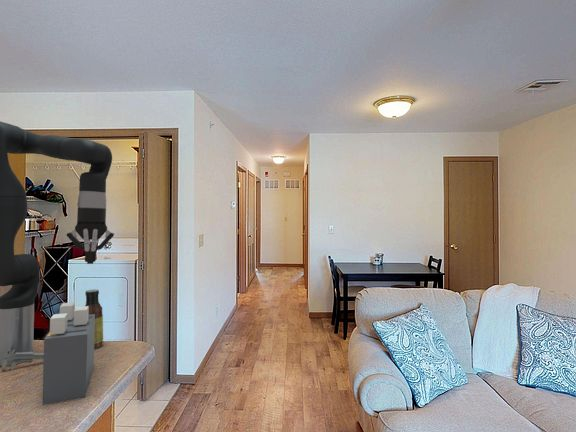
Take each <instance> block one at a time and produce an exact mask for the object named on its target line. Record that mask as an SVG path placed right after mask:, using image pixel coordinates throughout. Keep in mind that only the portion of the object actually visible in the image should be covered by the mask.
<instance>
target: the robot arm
mask: <svg viewBox="0 0 576 432" xmlns="http://www.w3.org/2000/svg"><path fill="white" fill-rule="evenodd" d="M8 154H12V155H18V154H19V155H26V154H27V155H29V154H31V155H32V154H35V155H43V156H46V157H49V158H55V159H59V160H63V161H72V162H73V161H74V162H78V163H81V164H82V163H83V164H87V165H90V167H89V170H88V171H85V172H82V173H80V176H79V184H78V189H79V190H78V191H79V192H78V196H77V204H76V206H77V211H76V212H77V215H76V225H75V226H74V230H72V231H70V232H67V233H66V237H67V238H68V239H69V240H70V241H71V242H72V243H73V245H74V246H75V247H76V248H77V249H78V250H81V251H84V262H85V263H86V264H87V265H93V264H94V263H95V262H96V260H97V251H100V250H102V249H103V248H105V246H106V245H107V244H108V243H109V242H110V241H111V239H112V238H113V237H114V235H115V233H113V232H112V231H110V230H109V229H108V226H107V223H106V222H107V220H106V219H107V218H106V217H107V194H106V193H107V179H108V176H109V173H110V170H111V166H112V162H113V154H112V150H111V149H110V147H108V145H105V144H103V143H100V142H97V141H94V140H90V139H86V138H71V137H67V136H60V135H53V134H49V135H48V134H47V135H46V134H45V135H41V134H37V133H34V132H31V131H29V130H26V129H24V128H21V127H19V126H18V125H13V124H10V123H7V122H5V121H4V122H3V121H1V120H0V287H8V286H11V288H9V290H8V291H7V292H5V293H3V294H2V295H1V296H0V367H2V361H3V358H4V355H5V353H8V351H9V349H10V352H12V351H13V350H14V349H15V350H14V353H13V354H15V353H23V352H34V327H35V326H34V325H35V324H34V323H35V299H36V297H37V296H38V295H37V294H38V290H39V279H40V264H39V260H38V259H37V257H35V255H33V254H31V253H21V254H15V241H16V237H17V234H18V232H19V231H20V229H21V227H22V226H23V224H24V222H25V220H26V218H27V216H28V198H27V192H26V190H25V187H24V186H23V185H22V183H21V181H20V179H18V177H17V176H16V174H15V172H14V171H13V169H12V167H11V165H10V161H9V156H8ZM78 236H79V237H80V238H81V239H82V240H83V244H84V245H83V244H82V242H81V241H80V240H79V239H78V238H77V237H78ZM103 236H104V237H105V238H104V240H103V241H101V243H100V244H99V245H98V243H99V240H100V239H101V238H102V237H103ZM10 354H11V353H10ZM12 361H13V360H8V362H7V365H6V367H8V366H11V364H12ZM21 363H23V362H21V361H18V362H17V364H16V365H18V364H21Z"/></svg>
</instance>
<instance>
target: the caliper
mask: <svg viewBox="0 0 576 432" xmlns="http://www.w3.org/2000/svg"><path fill="white" fill-rule="evenodd" d="M14 350H15V349H14ZM14 350H13V351H12V352H10V349H9V351H8V353H5V355H4V358H3V361H2V366H1V371H2V372H5V370H6V367H7V366H6V365H7V362H8V360H13V361H12V364H11V365H10V368H9V371H13V370H14V369H15V367H16V365H18V364H17V362H18V361H21V362H22V363H32V361H33V360H44V352H43V353H40V352H39V353H35V352H34V351H33V352H23V353H15V354H13V353H14ZM10 353H11V354H10Z"/></svg>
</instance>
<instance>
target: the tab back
mask: <svg viewBox="0 0 576 432" xmlns="http://www.w3.org/2000/svg"><path fill="white" fill-rule="evenodd" d="M75 308H76V302H75V301H74V302H62V303H61V304H60V306H59V314H64V313H68V314H67V320H72V319H73V317H74V310H75Z"/></svg>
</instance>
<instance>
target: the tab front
mask: <svg viewBox="0 0 576 432" xmlns="http://www.w3.org/2000/svg"><path fill="white" fill-rule="evenodd" d="M67 314H68V313H64V314H60V313H56V314H55V313H54V314H52V316H51V317H50V318H49V332H50V335H54V334H63V333H65V331H66V329H67Z"/></svg>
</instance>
